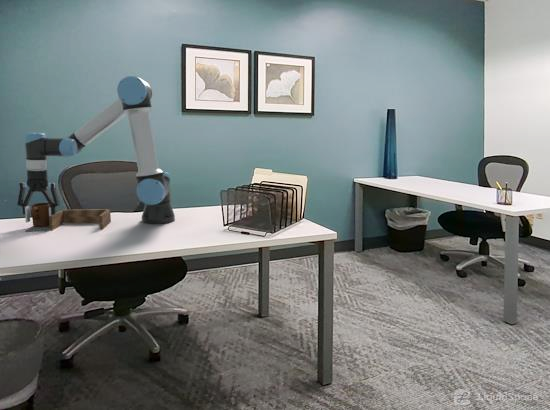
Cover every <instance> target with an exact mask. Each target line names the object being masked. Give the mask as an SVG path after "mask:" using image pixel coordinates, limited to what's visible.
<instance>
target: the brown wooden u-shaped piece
mask: <svg viewBox="0 0 550 410" xmlns="http://www.w3.org/2000/svg"><path fill="white" fill-rule="evenodd" d="M55 212H56V213H55V214H54V215H51V216H49V225H50V230H49V231H55V230H56V229H57V228H59V227H61V226H62V225H64V224H90V223H91V224H94V223H97V224H98V223H99V230H101V231H102V230H104V229H105V228H106V227H108V225H109V224H111V222H112V220H111V216H112V215H111V208H104V209H103V208H102V209H100V208H99V209H98V208H97V209H96V208H95V209H88V208H87V209H60V210H58V211H55Z"/></svg>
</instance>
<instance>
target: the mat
mask: <svg viewBox="0 0 550 410" xmlns="http://www.w3.org/2000/svg"><path fill="white" fill-rule="evenodd" d="M49 231H51V230H50V226H46V227H35V226H33V225H32V226H31V227H28V228H27V229H25V233H31V232H33V233H34V232H49Z"/></svg>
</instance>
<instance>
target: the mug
mask: <svg viewBox="0 0 550 410" xmlns="http://www.w3.org/2000/svg"><path fill="white" fill-rule="evenodd" d="M49 207H51V206H50V205H49V203H48V202H40V203H39V202H38V203H33V204H31V209H30V217H31V219H32V226H35V227H46V226H50V225H49Z"/></svg>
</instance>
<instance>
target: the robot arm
mask: <svg viewBox="0 0 550 410" xmlns="http://www.w3.org/2000/svg"><path fill="white" fill-rule="evenodd" d="M116 90H117V91H116V93H117V96H118V98H117V99H116V100H114V101H113V102H111V104H109V105H107V107H105V108H104V109H103V110H101V111H100V112H99V113H97V114H96V115H94V116H93V117H92V118H91V119H89V120H88V121H87V122H86V123H85V124H83V125H81V127H79V128H78V129H77V130H75V131H74V132H73V133H72V134H70V135H68V136H67V137H61V138H57V137H54V138H51V137H47V136H46V133H44V132H27V133H25V135H24V136H25V138H24V145H25V146H24V147H25V159H26V160H25V162H26V169H27V170H26V177H27V181H26V182H24V181H23V182H19V184H18V185H19V193H18V198H17V203H16V204H17V206H20V207H22V214H23V215H25V223H29V222H31V209H30V205H29V203H30V201H31V198H32V197H33V194H34V193H36V192H38V193H39V192H40V193H42V194H43V196H44V197H45V199H46V202H47V203H49V205H50V206H51V207H49V216H51V215H54V214H55V213H56V212H57V211H56V207H58V206H60V205H61V201H60V200H59V196H58V193H57V188H56V186H57V185H56V182H49V181H48V170H47V169H48V166H47V165H48V164H47V163H48V162H47V157H65V158H68V157H70V158H71V157H75V156H76V155H77V154H79V153H81V152H82V151H83V149H84V148H85V147H86V146H88V145H89V144H90V143H92V142H93V141H94V140H95V139H97V138H99V137H100V136H101V135H102V134H103V133H105V132H106V131H108V130H109V129H110V128H112V126H114V125H115V124H116V123H118V122H119V121H121V120H122V119H123V118H125V117H127V116H128V117H127V118H128V123H129V128H130V133H131V138H132V142H133V143H132V144H133V148H134V149H133V150H134V154H135V160H136V167H137V173H136V174H135V179H136V184H137V186H136V196H137V198H138V200H139V201H140V202H141V203H143V204H144V208H143V211H142V215H141V222H142V223H145V224H166V223H167V224H168V223H170V222H171V223H172V222H174V221H175V220H176V218H175V217H176V216H175V213H174V210H173V206H172V205H171V204H172V203H171V175H170V173H169V172H167V171H166V172H165V171H163V170H162V169H161V168H159V161H158V157H157V156H158V155H157V151H156V146H155V140H154V134H153V128H152V123H151V117H150V112H151V110H152V102H151V100H152V97H153V90H152V87H151V85H150V84H149V83H148V82H147V81H146V80H144V79H143V78H141V77H139V76H136V75H127V76H125V77H124V78H122V79H120V81H118V84H117V89H116ZM27 187H28V188H29V189H28V191H27V194H26V196H25V192H26V188H27ZM47 187H49V188H50V192H51V194H50V193H49V190H48V188H47ZM51 195H52V196H51Z"/></svg>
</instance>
